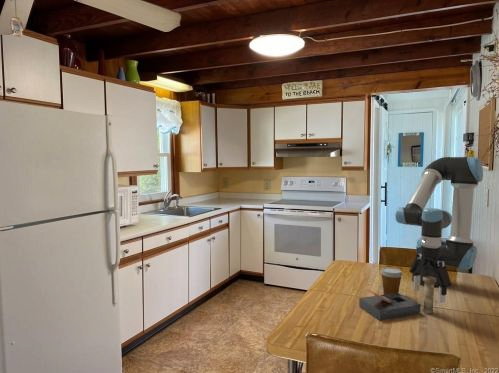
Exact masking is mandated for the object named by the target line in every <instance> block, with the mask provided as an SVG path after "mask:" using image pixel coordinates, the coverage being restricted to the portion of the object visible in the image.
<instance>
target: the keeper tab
mask: <svg viewBox="0 0 499 373" xmlns="http://www.w3.org/2000/svg"><path fill="white" fill-rule="evenodd" d="M366 291H367V292H368V293H370V294H372V296H377V297H379V298H381V299H383V300H385V301H387V302H388V303H391V304H392V303H393V301H391V300H389V299H388V298H386V297H384V296H383V297H382V296H380V295H381V294H378V293H376V292H375V291H373V290H370V288H369V289H367V290H366Z"/></svg>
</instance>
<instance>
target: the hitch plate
mask: <svg viewBox="0 0 499 373" xmlns="http://www.w3.org/2000/svg"><path fill="white" fill-rule="evenodd" d="M379 295H380V296H382V297H383V296H384V297H386V298H388V299H389V300H391V301H393V303H392V304H391V303H388V302H387V301H385V300H383V299H381V298H379V297H377V296H375V295H371V296H365V297H363V296H362V297H359V302H358V307H359V308H360V309H362V310H363V311H364V312H366V313H367V314H369V315H371V316H372V317H373V318H374V319H376V320H378V321H386V320H391V319H399V318H405V317H409V316H416V315H421V308H422V307H421V306H422V305H421V304H420V303H418V302H417V301H415V300H412V299H411V298H409V297H407V296H405V295H403V294H401V293H399V292H398V293H391V294H384V293H383V294H379Z"/></svg>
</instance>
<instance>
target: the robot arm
mask: <svg viewBox="0 0 499 373" xmlns="http://www.w3.org/2000/svg"><path fill="white" fill-rule="evenodd" d="M483 169H484V167H483V164H482V161H481V159H480V158H478V157H475V156H474V157H473V156H451V157H450V156H444V157H440V158H437V159H435V160H434V161H432V162H430V163H429V164H428V165H426V167H425V168H424V169H423V171H422V172H421V178H420V181H419V182H418V184H417V185H416V187H415V189H414V191H413V193H412V195H411V196H410V198H409V199H408V202H407V203H406V205H405V207H404V206H401V207H397V208H396V210H395V215H394V216H395V217H394V218H395V221H396V222H397V223H398V224H401V225H402V224H403V225H406V226H407V225H409V226H416V227H421V237H420V238H418V239H417V240H416V246H415V248H416V249H415V250H416V251H415V252H416V253H415V257H414V260H413V263H412V264H411V266H410V269H409V273H410V274H412V275H411V281H412V283H413V291H414V292H418V291H420V290H421V286H424V283H425V282H424V281H423V277H424V276H430V277H434V278H436V283H434V288H435V287H438V296H437V297H438V299H437V300H438V301H437V302H438V303H439V304H440V303H442V304H443V303H445V302H446V296H447V291H448V288H450V287H451V288H452V282H451V279H450V278H451V277H450V275H449V272H448V269H447V267H454V268H458V269H462V270H463V269H464V270H470V269H471V268H472V267H473V266H474V264H475V262H476V257H477V256H478V255H477V254H478V247H477V246H475V245H474V241H473V240H472V239H471V230H472V220H473V219H472V217H473V216H472V215H473V206H474V205H473V203H474V192H475V189H476V188H477V187H478V185H479V183H480V182H481V183H482V181H483V177H484V170H483ZM442 181H450V185H451V186H452V188H453V192H452V204H451V206H452V207H451V213H450V212H448V210H442V209H440V208H433V207H431V208H430V207H426V206H427V204H428V202H429V200H430V199H431V196H432V195H433V193H434V191H435V190H436V187H437V185H439V184H440V183H441V182H442ZM449 226H450V230H449V231H450V233H449V236H448V237H446V238H445V241H443V238H442V236H443V234H442V233H443V232H442V231H443V229H446V228H448V227H449Z"/></svg>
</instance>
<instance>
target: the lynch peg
mask: <svg viewBox="0 0 499 373" xmlns="http://www.w3.org/2000/svg"><path fill="white" fill-rule="evenodd" d="M423 281H424V282H425V283H424V285H423V287H424V288H423V313H424V314H426V315H433V314H434V298H435V297H434V296H435V293H434V292H435V287H434V283H436V278H434V277H430V276H424V277H423Z"/></svg>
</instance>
